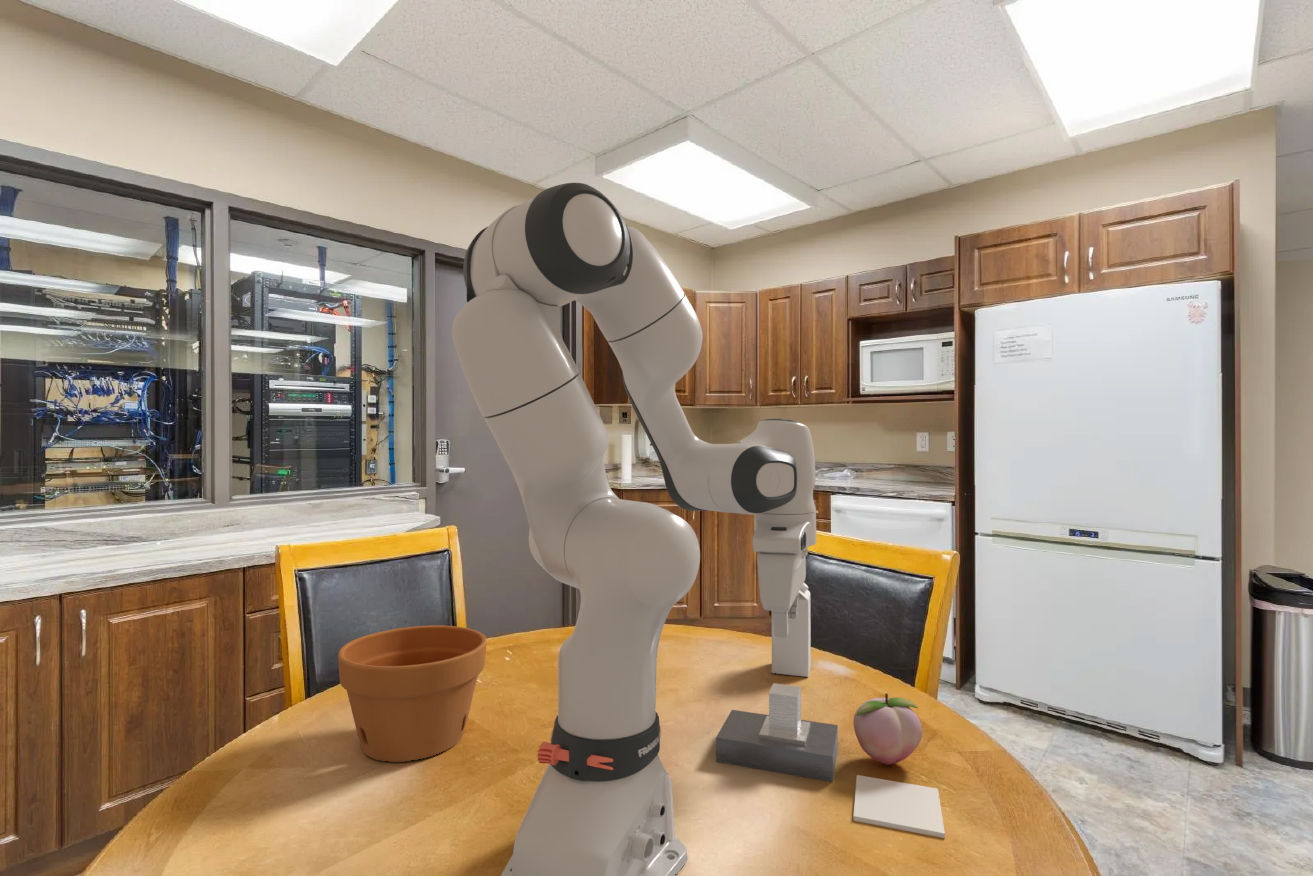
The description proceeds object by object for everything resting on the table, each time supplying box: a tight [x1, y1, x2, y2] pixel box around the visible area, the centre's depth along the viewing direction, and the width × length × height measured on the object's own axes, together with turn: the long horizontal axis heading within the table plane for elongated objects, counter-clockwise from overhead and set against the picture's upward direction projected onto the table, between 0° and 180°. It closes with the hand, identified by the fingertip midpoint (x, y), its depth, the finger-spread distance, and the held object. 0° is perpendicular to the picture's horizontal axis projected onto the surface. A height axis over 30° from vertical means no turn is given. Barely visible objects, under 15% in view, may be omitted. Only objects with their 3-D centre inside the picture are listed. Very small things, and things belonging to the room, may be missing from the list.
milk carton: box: [771, 582, 812, 678], centre depth 127 cm, size 7×7×19 cm
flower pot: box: [337, 624, 487, 763], centre depth 96 cm, size 21×21×15 cm
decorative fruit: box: [853, 693, 923, 766], centre depth 89 cm, size 9×8×10 cm
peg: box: [759, 682, 810, 746], centre depth 91 cm, size 6×6×10 cm
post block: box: [715, 709, 839, 783], centre depth 92 cm, size 10×16×4 cm, turn 70°
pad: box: [852, 774, 946, 839], centre depth 79 cm, size 10×10×1 cm
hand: (786, 626), depth 92 cm, fingers open, 8 cm apart
